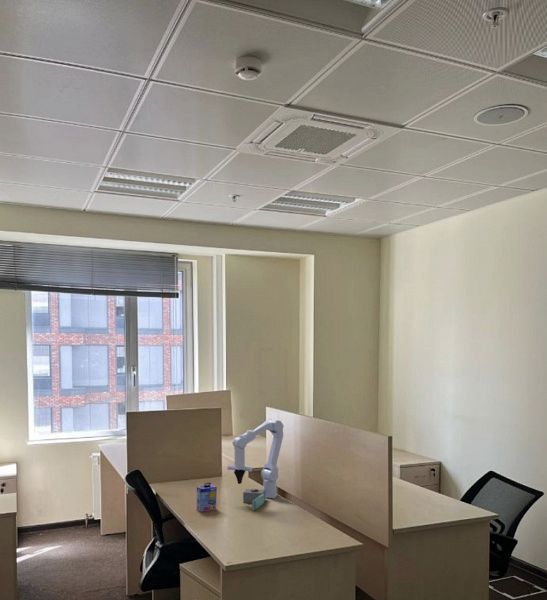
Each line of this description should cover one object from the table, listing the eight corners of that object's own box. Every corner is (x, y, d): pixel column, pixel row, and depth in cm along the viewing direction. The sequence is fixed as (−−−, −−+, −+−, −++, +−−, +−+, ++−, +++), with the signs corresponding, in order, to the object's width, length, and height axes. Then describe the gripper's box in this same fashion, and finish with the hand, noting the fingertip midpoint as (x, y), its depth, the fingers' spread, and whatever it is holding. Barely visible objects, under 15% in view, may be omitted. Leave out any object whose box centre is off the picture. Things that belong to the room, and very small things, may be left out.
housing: (246, 498, 338) (246, 487, 338) (265, 499, 336) (265, 488, 336) (243, 502, 330) (243, 491, 330) (262, 503, 328) (262, 492, 328)
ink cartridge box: (200, 512, 312) (200, 484, 313) (195, 509, 316) (196, 482, 317) (217, 509, 317) (217, 482, 318) (212, 507, 321) (212, 480, 322)
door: (252, 510, 313) (252, 500, 313) (263, 502, 328) (263, 493, 328) (254, 510, 313) (254, 501, 313) (265, 503, 327) (265, 493, 328)
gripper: (224, 459, 331) (225, 484, 330) (248, 461, 326) (248, 486, 325) (230, 457, 338) (230, 481, 337) (253, 458, 332) (253, 483, 331)
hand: (239, 483), depth 331 cm, fingers closed
